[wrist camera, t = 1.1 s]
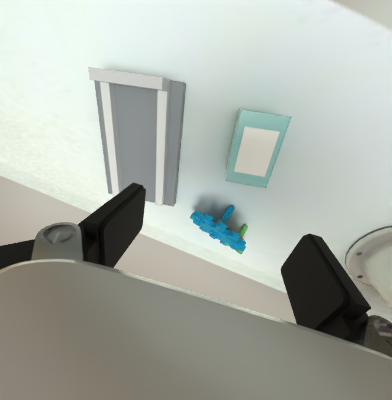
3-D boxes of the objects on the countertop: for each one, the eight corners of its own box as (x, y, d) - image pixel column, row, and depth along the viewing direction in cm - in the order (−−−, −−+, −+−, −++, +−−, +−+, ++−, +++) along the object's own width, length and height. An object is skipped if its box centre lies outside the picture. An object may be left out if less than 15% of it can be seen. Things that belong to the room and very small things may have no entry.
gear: (179, 216, 31) (208, 221, 22) (197, 190, 33) (232, 186, 24) (220, 249, 35) (259, 265, 26) (235, 224, 37) (276, 232, 28)
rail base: (185, 83, 23) (176, 78, 19) (175, 202, 32) (168, 215, 28) (100, 72, 24) (75, 65, 20) (113, 189, 33) (97, 200, 29)
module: (277, 114, 23) (292, 117, 17) (259, 172, 27) (266, 189, 21) (239, 109, 23) (241, 109, 18) (226, 166, 27) (225, 182, 22)
